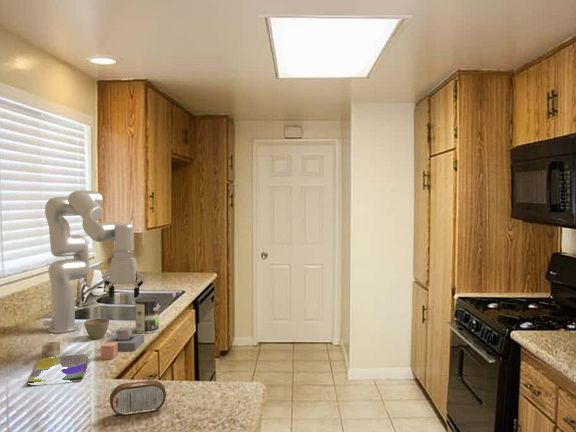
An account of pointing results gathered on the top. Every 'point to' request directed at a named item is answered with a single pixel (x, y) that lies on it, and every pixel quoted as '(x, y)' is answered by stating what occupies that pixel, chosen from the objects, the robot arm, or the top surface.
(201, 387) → the top surface
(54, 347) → the birch block
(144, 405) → the tin
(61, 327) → the robot arm
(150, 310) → the coffee can
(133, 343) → the bearing plate
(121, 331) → the steel block
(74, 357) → the dish towel
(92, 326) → the flower pot
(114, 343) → the terracotta block
